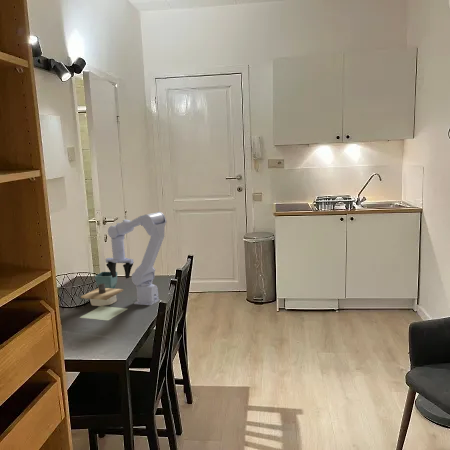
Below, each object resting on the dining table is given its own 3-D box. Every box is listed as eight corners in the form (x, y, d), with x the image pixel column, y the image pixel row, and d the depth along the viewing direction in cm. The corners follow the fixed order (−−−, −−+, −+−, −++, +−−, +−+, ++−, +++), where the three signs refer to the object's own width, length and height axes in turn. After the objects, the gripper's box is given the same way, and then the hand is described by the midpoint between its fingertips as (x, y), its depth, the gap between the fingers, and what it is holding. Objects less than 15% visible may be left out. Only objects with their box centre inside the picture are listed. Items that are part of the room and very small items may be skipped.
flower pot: (112, 293, 241) (110, 276, 239) (96, 293, 242) (94, 276, 241) (119, 288, 249) (117, 271, 248) (103, 288, 251) (102, 271, 249)
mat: (128, 309, 215) (128, 308, 215) (108, 321, 201) (108, 320, 201) (100, 306, 220) (100, 306, 220) (79, 318, 207) (79, 317, 207)
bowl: (121, 299, 230) (120, 291, 229) (106, 307, 219) (105, 298, 218) (101, 297, 234) (100, 289, 234) (85, 305, 224) (84, 297, 223)
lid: (123, 290, 229) (122, 281, 229) (106, 299, 217) (105, 289, 216) (99, 289, 235) (98, 279, 234) (80, 298, 222) (79, 288, 221)
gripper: (100, 251, 227) (103, 278, 229) (126, 252, 222) (129, 280, 224) (109, 248, 233) (111, 274, 236) (134, 249, 228) (137, 276, 230)
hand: (120, 277), depth 230 cm, fingers open, 7 cm apart
